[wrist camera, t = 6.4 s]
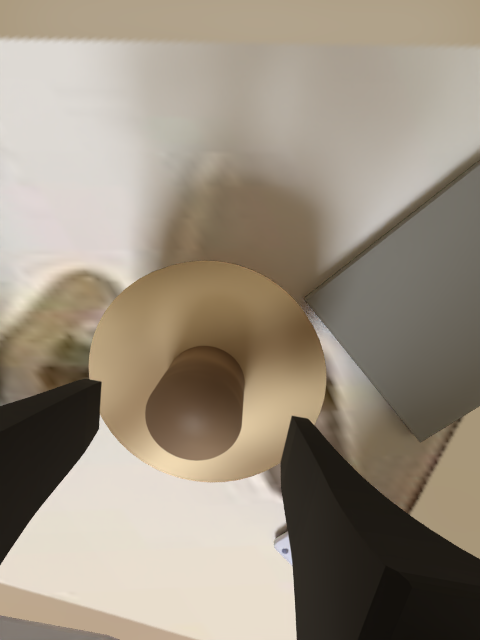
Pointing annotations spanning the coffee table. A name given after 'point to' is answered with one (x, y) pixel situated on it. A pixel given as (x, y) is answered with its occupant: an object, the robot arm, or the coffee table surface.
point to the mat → (416, 309)
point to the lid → (206, 370)
